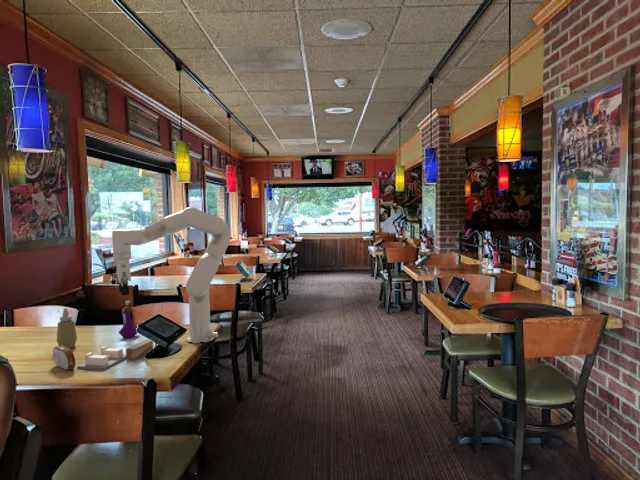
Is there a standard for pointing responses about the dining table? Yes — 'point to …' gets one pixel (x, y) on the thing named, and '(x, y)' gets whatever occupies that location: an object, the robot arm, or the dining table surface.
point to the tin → (64, 357)
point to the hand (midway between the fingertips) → (124, 293)
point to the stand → (103, 359)
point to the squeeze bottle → (66, 331)
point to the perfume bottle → (128, 324)
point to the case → (138, 350)
